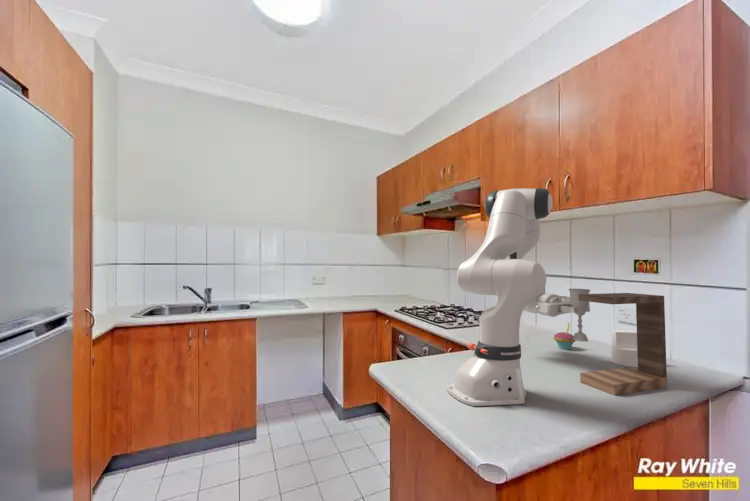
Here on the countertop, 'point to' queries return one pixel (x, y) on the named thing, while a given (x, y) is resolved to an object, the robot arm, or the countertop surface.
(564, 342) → the cupcake
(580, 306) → the chalice
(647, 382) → the wooden c-shaped stand
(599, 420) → the countertop surface
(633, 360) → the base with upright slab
